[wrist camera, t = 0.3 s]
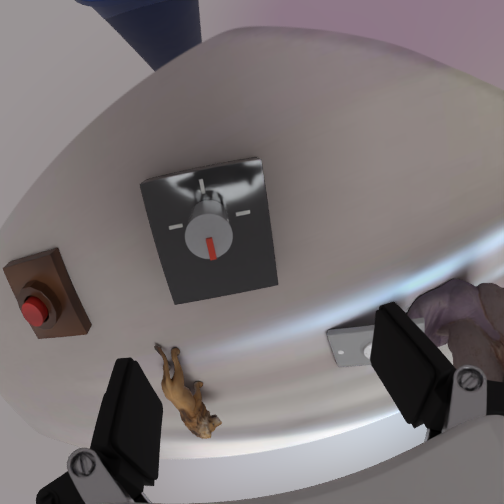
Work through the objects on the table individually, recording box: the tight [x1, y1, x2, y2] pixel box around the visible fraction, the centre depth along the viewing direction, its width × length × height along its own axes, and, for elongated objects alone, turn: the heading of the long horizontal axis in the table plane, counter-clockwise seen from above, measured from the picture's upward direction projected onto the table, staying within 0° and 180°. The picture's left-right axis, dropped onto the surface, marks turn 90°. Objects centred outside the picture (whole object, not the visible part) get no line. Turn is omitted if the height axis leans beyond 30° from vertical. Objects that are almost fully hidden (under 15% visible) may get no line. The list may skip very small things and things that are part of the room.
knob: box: [185, 200, 233, 260], centre depth 25 cm, size 4×4×5 cm
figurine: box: [407, 279, 504, 382], centre depth 31 cm, size 18×15×25 cm
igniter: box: [3, 248, 91, 339], centre depth 30 cm, size 12×10×4 cm
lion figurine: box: [154, 346, 222, 439], centre depth 36 cm, size 15×5×9 cm, turn 26°
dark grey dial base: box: [140, 157, 278, 305], centre depth 30 cm, size 14×12×3 cm
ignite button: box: [22, 296, 48, 326], centre depth 27 cm, size 4×4×2 cm
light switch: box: [327, 318, 425, 367], centre depth 39 cm, size 8×6×14 cm
